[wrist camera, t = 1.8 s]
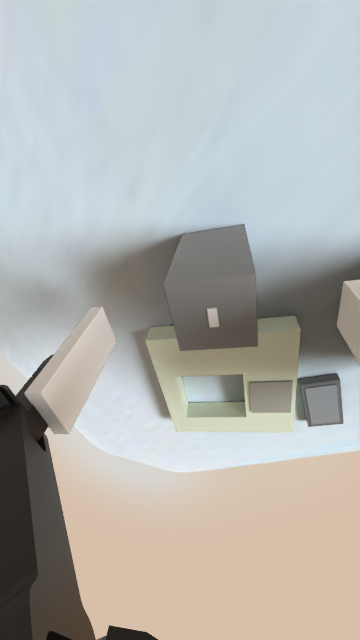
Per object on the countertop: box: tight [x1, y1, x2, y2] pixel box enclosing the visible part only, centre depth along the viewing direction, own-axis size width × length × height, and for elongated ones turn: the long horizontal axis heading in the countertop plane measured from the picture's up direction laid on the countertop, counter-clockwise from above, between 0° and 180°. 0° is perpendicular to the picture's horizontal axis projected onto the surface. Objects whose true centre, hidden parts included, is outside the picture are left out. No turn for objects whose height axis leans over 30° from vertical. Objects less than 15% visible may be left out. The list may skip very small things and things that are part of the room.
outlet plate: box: [145, 316, 301, 433], centre depth 27 cm, size 14×13×2 cm
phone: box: [299, 374, 343, 427], centre depth 28 cm, size 7×4×1 cm, turn 21°
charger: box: [163, 224, 258, 351], centre depth 17 cm, size 4×4×8 cm
